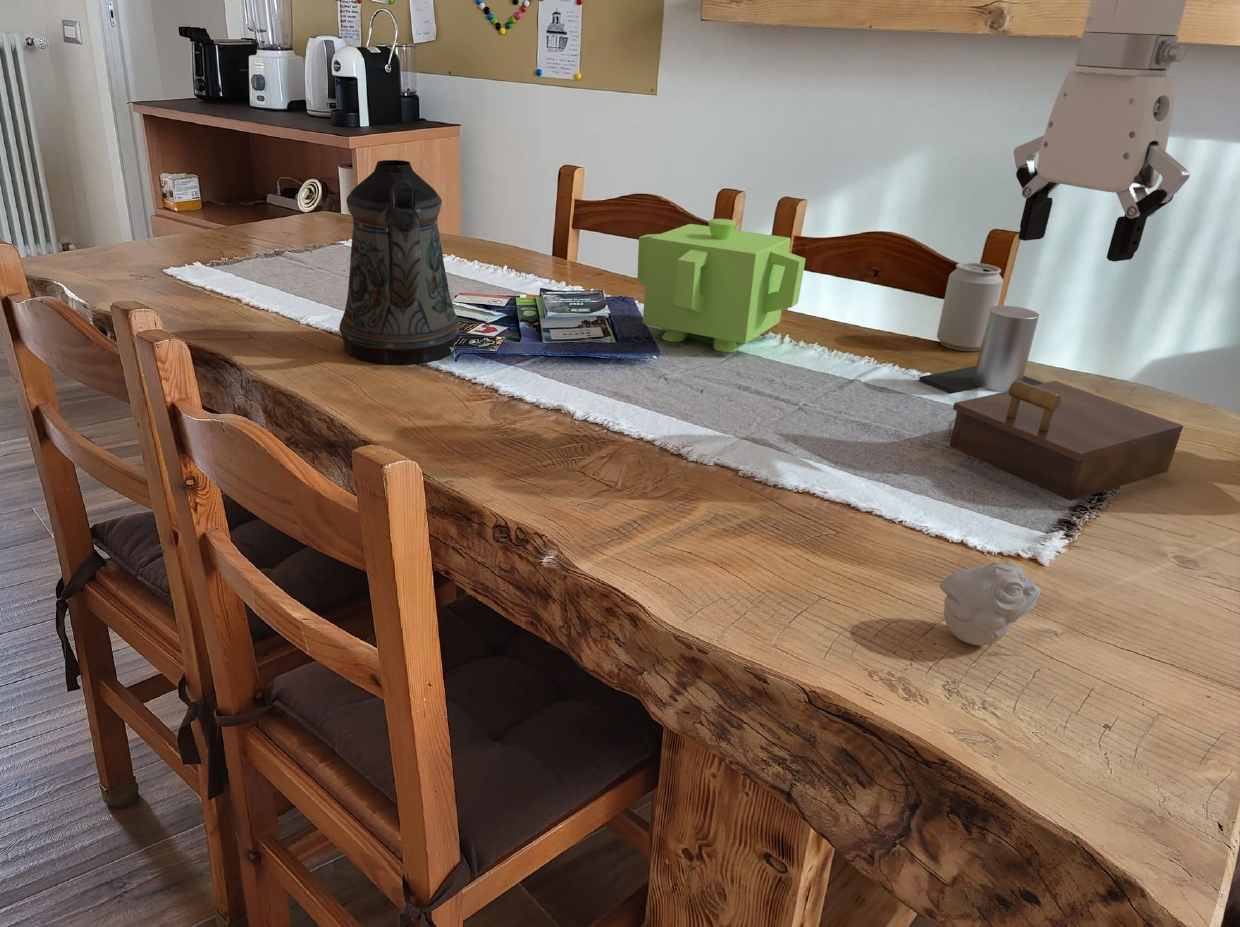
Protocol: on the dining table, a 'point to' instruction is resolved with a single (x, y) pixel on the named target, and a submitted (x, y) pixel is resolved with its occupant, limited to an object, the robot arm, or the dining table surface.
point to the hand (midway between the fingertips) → (1073, 249)
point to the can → (968, 305)
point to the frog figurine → (987, 601)
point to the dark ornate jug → (397, 272)
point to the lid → (1067, 419)
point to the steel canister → (1005, 347)
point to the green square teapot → (717, 282)
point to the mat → (960, 380)
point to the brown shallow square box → (1061, 460)
